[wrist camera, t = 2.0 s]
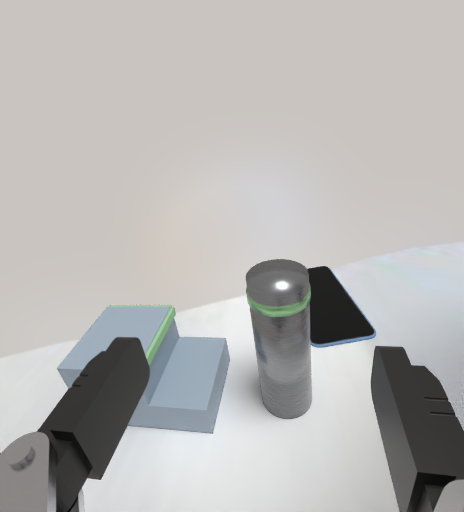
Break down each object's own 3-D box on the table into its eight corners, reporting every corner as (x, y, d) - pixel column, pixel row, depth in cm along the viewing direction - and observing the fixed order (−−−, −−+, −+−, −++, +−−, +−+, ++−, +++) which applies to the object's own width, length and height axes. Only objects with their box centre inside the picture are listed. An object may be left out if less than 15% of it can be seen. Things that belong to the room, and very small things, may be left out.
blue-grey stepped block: (230, 356, 33) (220, 304, 30) (212, 433, 26) (196, 375, 23) (128, 353, 36) (109, 304, 32) (87, 421, 29) (56, 368, 25)
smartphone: (311, 346, 32) (278, 272, 46) (312, 352, 33) (279, 277, 46) (381, 334, 33) (328, 263, 46) (380, 339, 33) (328, 268, 46)
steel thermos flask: (311, 376, 30) (309, 257, 24) (314, 422, 26) (311, 293, 20) (263, 374, 31) (248, 259, 25) (258, 417, 27) (239, 294, 21)
